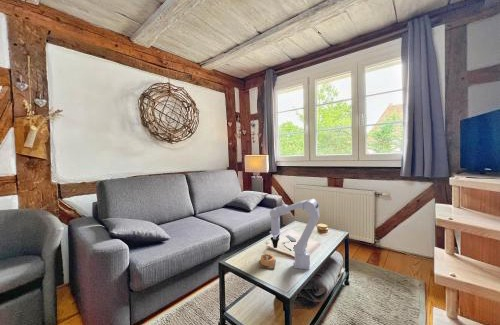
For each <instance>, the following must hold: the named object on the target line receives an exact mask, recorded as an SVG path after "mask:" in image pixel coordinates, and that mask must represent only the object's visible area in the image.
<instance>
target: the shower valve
mask: <svg viewBox="0 0 500 325" xmlns="http://www.w3.org/2000/svg"><path fill="white" fill-rule="evenodd" d="M285 237H286V238H287V239H288V241H289V240H290V241H291V242H296V241H297V239H296V238H295V237H293V236H291V235H289V234H288V235H287V234H286V235H285ZM290 241H289V242H290Z"/></svg>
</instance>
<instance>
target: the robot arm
mask: <svg viewBox="0 0 500 325" xmlns="http://www.w3.org/2000/svg"><path fill="white" fill-rule="evenodd" d="M298 209H301V210H305V212H306V213H307V214H308V215H309V220H308V222H307V223H306V226H305V228H304V229H303V231H302V234H301V236H300V238H299V240H298V241H297V244H296V245H294V247H293V249H294V250H293V251H294V261H293V267H294V269H300V270H311V269H310V268H311V266H310V265H311V259H310V254H311V253H310V252H307V248H308V242H309V239H310V237H311V235H312V233H313V231H314V229H315V228H316V226H317V224H318V221H319V220H320V216H321V214H320V205H319V203H318V200H316V199H315V198H310V199H305V200H304V199H303V200H301V201H298V202H296V203H293V204H284V203H283V204H281V205H280V206H276V207H274V208H272V209H270V211H269V215H270V221H271V222H270V223H271V224H270V225H271V226H270V228H271V230H270V231H269V234H271V235H272V236H271V237H270V241H271V243H272V247H273V249H277V248H278V244H279V241H280V235H281V229H280V228H281V219H280V216H284V215H287V214H290V213H291V212H290V211H294V210H298Z"/></svg>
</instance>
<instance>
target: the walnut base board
mask: <svg viewBox="0 0 500 325" xmlns="http://www.w3.org/2000/svg"><path fill="white" fill-rule="evenodd" d="M276 263H277V260H276V259H275V258H274V264H273V265H271V266H264V265H262V264H261V259H260V260H259V264H258V265H257V266H258V267H257V268H258V269H263V270H275V267H276Z"/></svg>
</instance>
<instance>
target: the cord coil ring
mask: <svg viewBox="0 0 500 325" xmlns="http://www.w3.org/2000/svg"><path fill="white" fill-rule="evenodd" d="M266 256H269V260H266ZM274 259H275V256H274V255H273V254H271V253H263V254H262V255H261V256H260V260H261V264H262V265H264V266H271V265H273V264H274Z"/></svg>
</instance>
